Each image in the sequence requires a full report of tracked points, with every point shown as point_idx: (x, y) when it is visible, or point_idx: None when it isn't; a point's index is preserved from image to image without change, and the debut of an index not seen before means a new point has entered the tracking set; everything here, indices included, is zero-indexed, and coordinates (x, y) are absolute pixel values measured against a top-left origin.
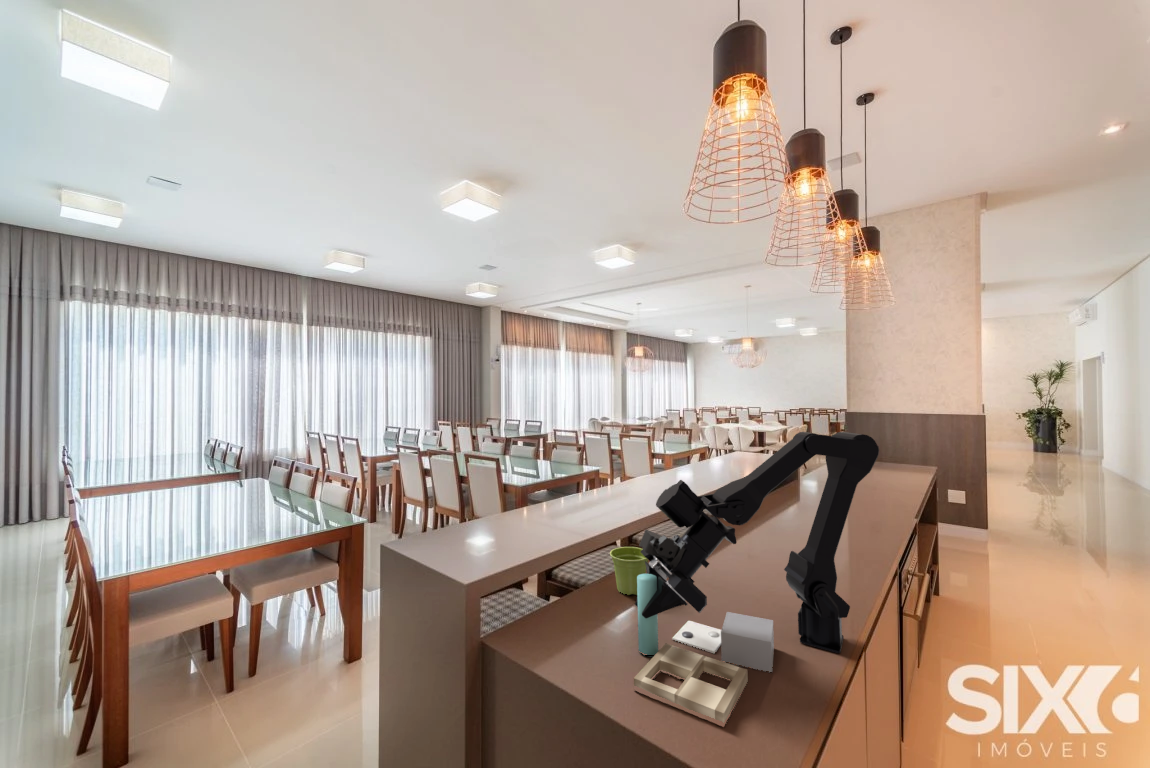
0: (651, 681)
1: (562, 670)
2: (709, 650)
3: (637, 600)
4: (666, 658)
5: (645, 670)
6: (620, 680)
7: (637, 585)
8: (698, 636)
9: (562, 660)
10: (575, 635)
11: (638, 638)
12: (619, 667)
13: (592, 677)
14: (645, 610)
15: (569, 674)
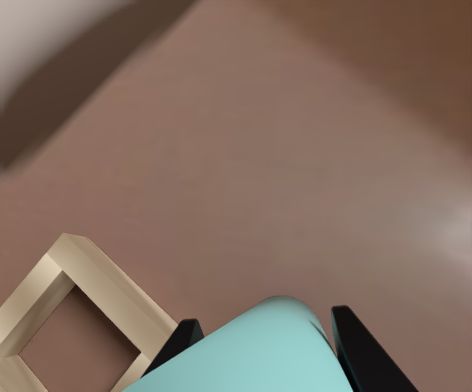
0: (37, 286)
1: (206, 49)
2: None
3: (341, 327)
4: None
5: (92, 280)
6: (139, 206)
7: (239, 336)
8: None
9: (255, 46)
10: (411, 76)
11: (279, 298)
12: (201, 211)
13: (164, 128)
14: (163, 348)
15: (186, 68)
